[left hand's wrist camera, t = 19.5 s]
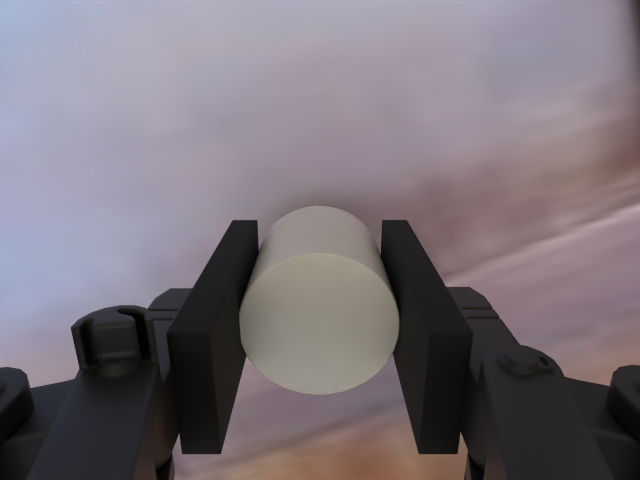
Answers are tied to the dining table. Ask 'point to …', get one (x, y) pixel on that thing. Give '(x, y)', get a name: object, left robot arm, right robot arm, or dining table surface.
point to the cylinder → (319, 304)
